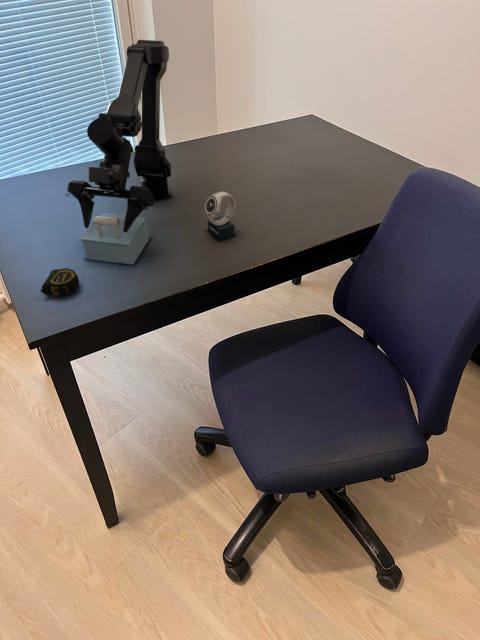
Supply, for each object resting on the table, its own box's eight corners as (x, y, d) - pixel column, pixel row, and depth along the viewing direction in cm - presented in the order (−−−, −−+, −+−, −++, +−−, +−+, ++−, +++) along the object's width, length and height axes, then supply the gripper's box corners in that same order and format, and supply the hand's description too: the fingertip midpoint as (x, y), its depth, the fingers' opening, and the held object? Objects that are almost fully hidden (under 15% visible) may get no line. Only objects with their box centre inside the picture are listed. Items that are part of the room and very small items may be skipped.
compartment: (133, 264, 112) (130, 245, 108) (86, 259, 113) (82, 239, 110) (149, 239, 120) (146, 220, 117) (105, 234, 122) (102, 215, 118)
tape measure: (55, 279, 107) (51, 265, 105) (85, 281, 107) (81, 267, 104) (43, 298, 102) (38, 284, 99) (74, 300, 101) (70, 286, 99)
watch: (201, 233, 123) (200, 193, 116) (227, 224, 126) (227, 185, 119) (213, 243, 120) (212, 203, 112) (239, 233, 123) (240, 194, 116)
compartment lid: (128, 247, 108) (125, 227, 104) (80, 241, 109) (76, 221, 106) (146, 220, 117) (144, 201, 114) (102, 215, 118) (98, 196, 115)
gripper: (60, 144, 102) (48, 215, 101) (144, 151, 100) (132, 224, 99) (83, 165, 113) (73, 229, 112) (159, 172, 111) (149, 238, 110)
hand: (105, 230), depth 108 cm, fingers open, 9 cm apart
